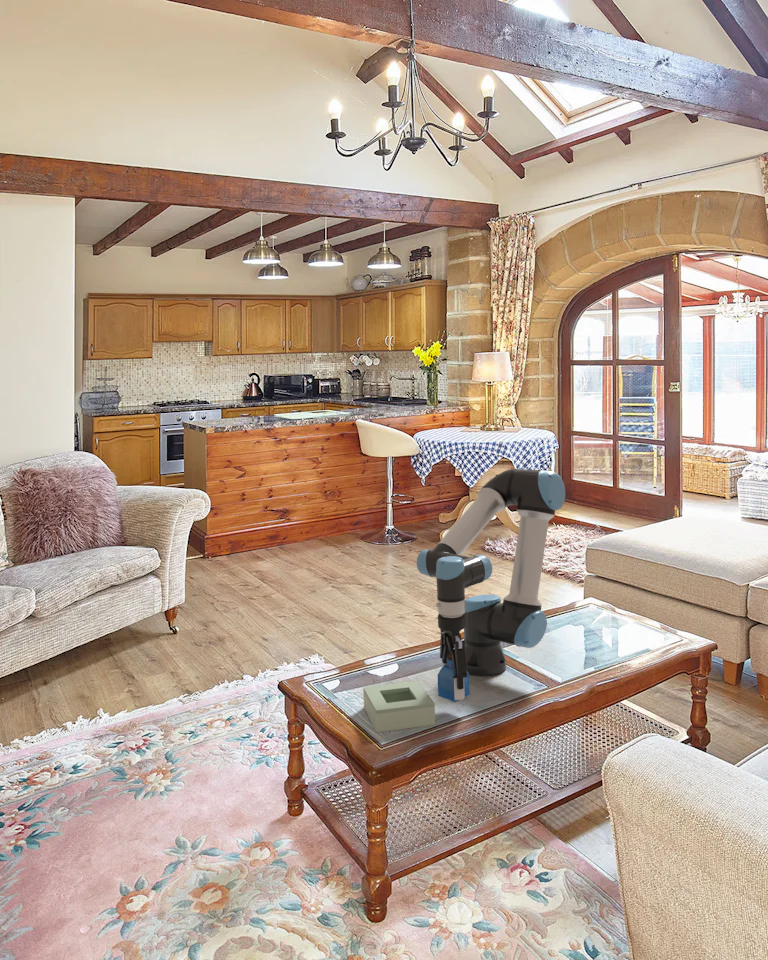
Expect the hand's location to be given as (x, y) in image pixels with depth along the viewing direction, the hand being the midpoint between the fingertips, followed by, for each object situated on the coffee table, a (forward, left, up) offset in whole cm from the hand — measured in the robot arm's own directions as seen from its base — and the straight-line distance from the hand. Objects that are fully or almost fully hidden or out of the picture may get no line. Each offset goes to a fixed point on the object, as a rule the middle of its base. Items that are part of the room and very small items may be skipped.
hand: (454, 692), depth 209 cm
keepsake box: (+16, -2, -6) cm, 17 cm away
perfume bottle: (0, 0, -1) cm, 1 cm away
